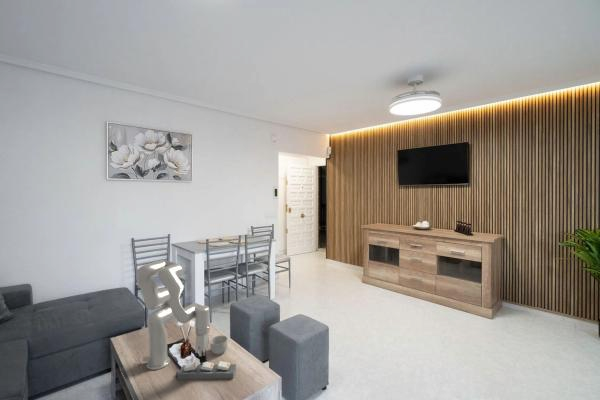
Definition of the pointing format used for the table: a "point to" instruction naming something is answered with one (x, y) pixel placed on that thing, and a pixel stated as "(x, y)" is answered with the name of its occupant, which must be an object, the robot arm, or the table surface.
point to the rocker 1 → (190, 366)
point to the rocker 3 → (223, 365)
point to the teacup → (218, 344)
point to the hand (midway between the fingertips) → (203, 361)
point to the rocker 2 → (207, 366)
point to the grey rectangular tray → (207, 373)
